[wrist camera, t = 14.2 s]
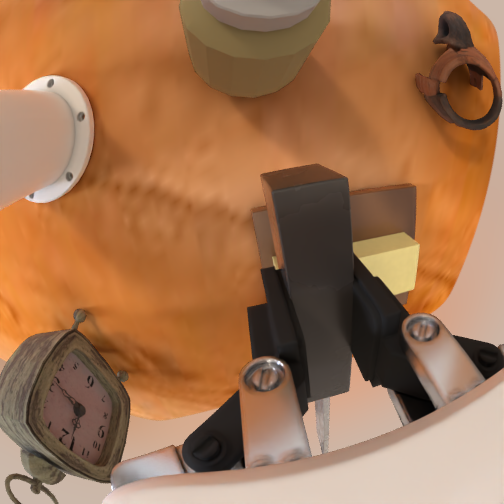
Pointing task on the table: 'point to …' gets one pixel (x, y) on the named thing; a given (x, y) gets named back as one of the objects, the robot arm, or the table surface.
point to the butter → (390, 260)
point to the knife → (316, 272)
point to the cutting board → (357, 219)
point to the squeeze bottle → (251, 41)
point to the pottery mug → (457, 54)
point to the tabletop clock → (63, 409)
